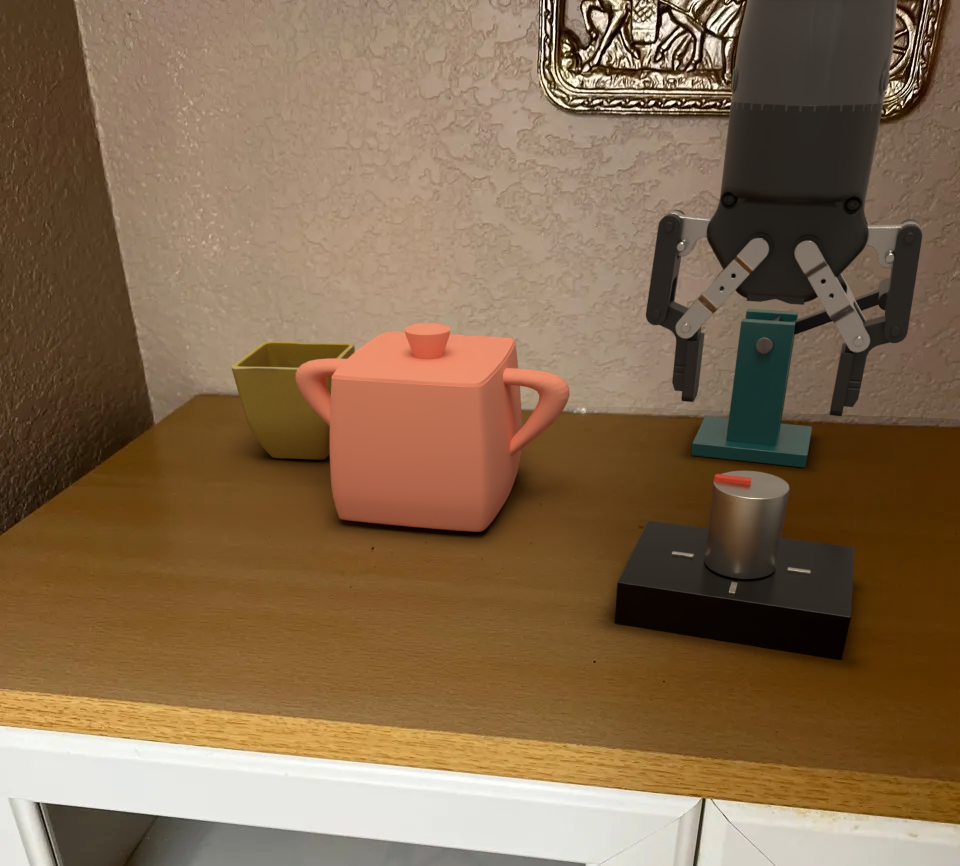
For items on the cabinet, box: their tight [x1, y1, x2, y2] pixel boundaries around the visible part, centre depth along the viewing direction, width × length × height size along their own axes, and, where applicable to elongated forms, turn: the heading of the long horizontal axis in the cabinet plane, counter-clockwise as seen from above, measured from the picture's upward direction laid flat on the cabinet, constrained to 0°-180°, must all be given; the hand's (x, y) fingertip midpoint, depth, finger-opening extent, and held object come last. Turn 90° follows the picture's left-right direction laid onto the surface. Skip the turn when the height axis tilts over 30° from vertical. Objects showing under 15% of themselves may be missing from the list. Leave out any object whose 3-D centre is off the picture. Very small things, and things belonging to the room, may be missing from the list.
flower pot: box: [231, 341, 356, 461], centre depth 88 cm, size 9×9×9 cm
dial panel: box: [614, 519, 855, 660], centre depth 64 cm, size 14×10×3 cm
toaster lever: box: [769, 277, 890, 336], centre depth 83 cm, size 12×6×2 cm, turn 71°
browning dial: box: [704, 470, 790, 579], centre depth 62 cm, size 5×5×6 cm
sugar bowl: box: [295, 322, 570, 533], centre depth 80 cm, size 20×22×14 cm
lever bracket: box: [690, 308, 813, 468], centre depth 88 cm, size 10×8×12 cm
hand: (760, 405), depth 58 cm, fingers open, 8 cm apart
